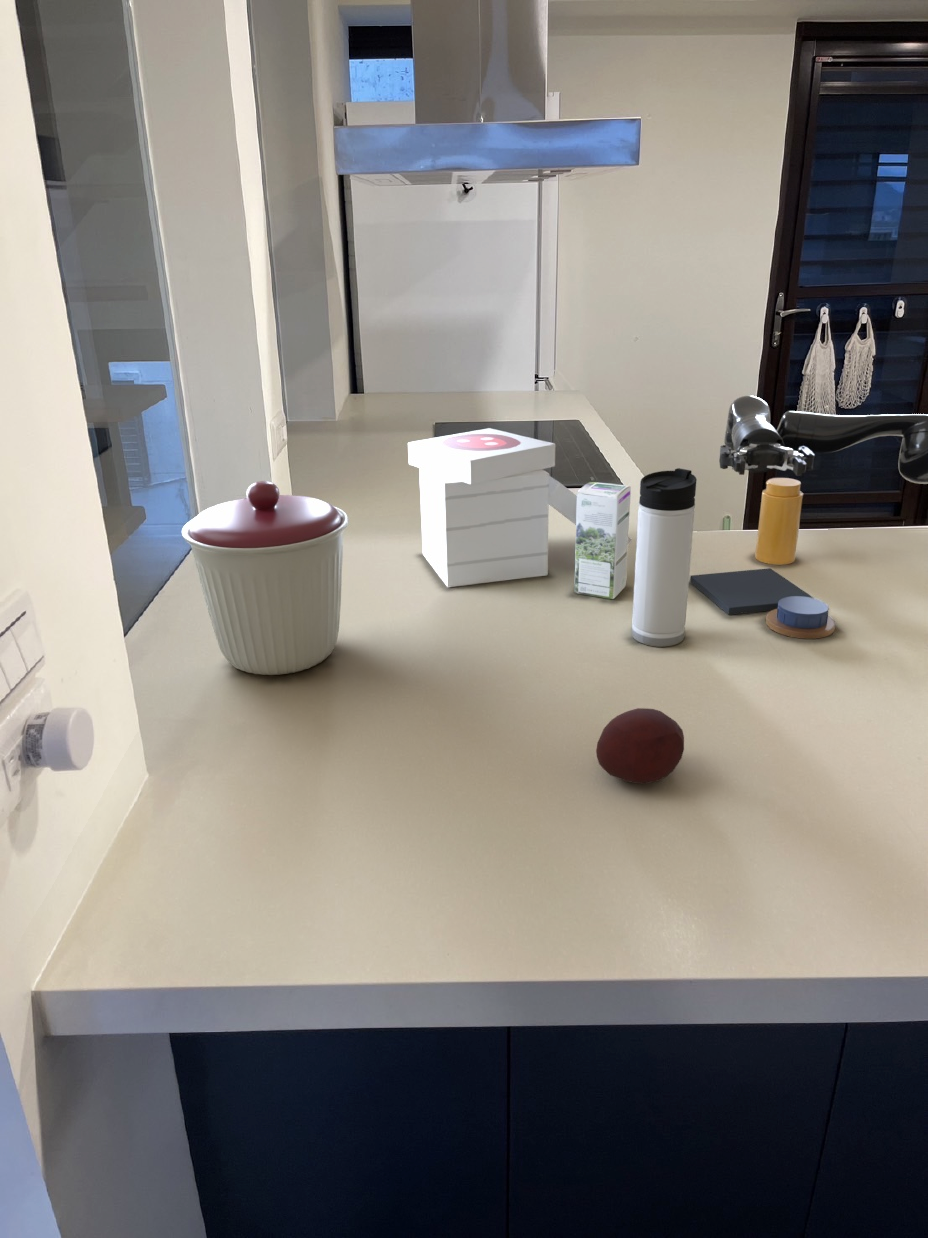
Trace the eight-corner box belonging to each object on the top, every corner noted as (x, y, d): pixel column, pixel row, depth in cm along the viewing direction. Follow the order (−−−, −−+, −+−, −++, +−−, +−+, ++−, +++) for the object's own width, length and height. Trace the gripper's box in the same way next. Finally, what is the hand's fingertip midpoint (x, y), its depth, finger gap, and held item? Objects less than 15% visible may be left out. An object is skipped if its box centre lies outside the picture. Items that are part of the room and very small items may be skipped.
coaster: (812, 610, 116) (813, 604, 116) (847, 635, 109) (848, 629, 108) (754, 615, 115) (754, 610, 114) (786, 641, 107) (787, 635, 107)
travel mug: (696, 635, 110) (710, 473, 102) (664, 652, 106) (676, 484, 98) (652, 621, 114) (663, 464, 106) (621, 637, 110) (629, 475, 102)
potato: (702, 786, 80) (708, 727, 78) (619, 806, 78) (622, 746, 75) (658, 746, 87) (663, 690, 84) (580, 763, 84) (582, 706, 82)
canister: (330, 697, 97) (313, 508, 89) (174, 686, 100) (143, 502, 92) (376, 629, 113) (365, 463, 105) (240, 622, 117) (219, 460, 108)
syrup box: (627, 586, 125) (632, 483, 119) (613, 601, 120) (618, 495, 114) (588, 580, 127) (591, 479, 122) (572, 594, 123) (575, 490, 117)
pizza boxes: (636, 568, 131) (643, 445, 124) (436, 594, 124) (431, 464, 117) (584, 530, 148) (588, 419, 141) (405, 550, 141) (400, 434, 134)
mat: (769, 574, 128) (770, 567, 127) (815, 606, 117) (816, 599, 117) (689, 582, 126) (690, 575, 126) (728, 615, 115) (729, 607, 115)
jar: (782, 550, 137) (792, 475, 132) (802, 563, 132) (812, 485, 127) (748, 553, 136) (756, 478, 131) (766, 566, 131) (775, 488, 126)
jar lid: (791, 631, 108) (793, 616, 108) (767, 612, 114) (769, 598, 113) (836, 626, 109) (838, 611, 108) (810, 608, 114) (812, 594, 114)
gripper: (716, 422, 154) (726, 444, 139) (804, 423, 152) (823, 445, 137) (712, 466, 157) (721, 491, 142) (798, 467, 155) (816, 493, 140)
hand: (771, 469), depth 140 cm, fingers open, 8 cm apart
